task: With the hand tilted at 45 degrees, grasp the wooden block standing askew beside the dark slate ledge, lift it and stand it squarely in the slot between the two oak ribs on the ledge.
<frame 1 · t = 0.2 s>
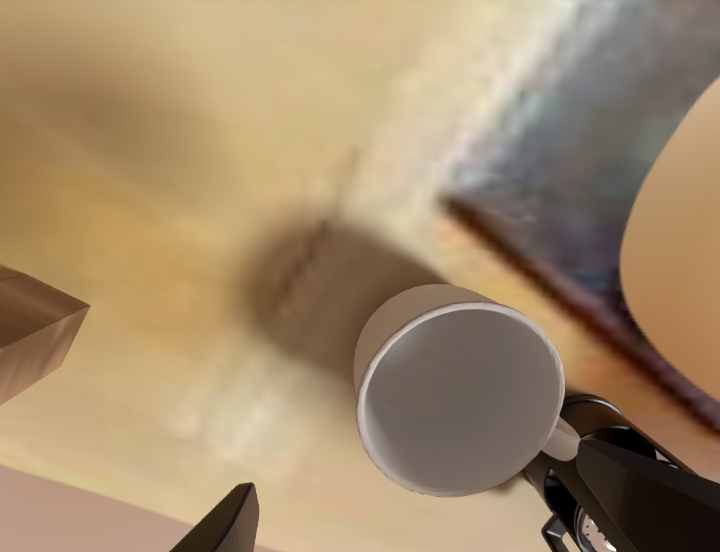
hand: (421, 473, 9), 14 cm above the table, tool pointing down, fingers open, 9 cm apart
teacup: (437, 349, 24), on the table
wooden block: (43, 321, 21), on the table
french press: (565, 446, 28), on the table
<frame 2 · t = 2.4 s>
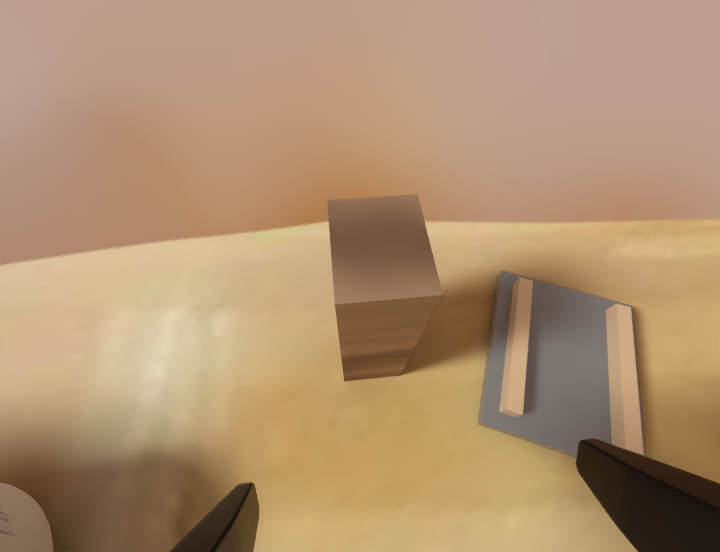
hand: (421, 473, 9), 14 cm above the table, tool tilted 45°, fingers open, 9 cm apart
ledge: (557, 362, 24), on the table
wooden block: (368, 344, 25), on the table
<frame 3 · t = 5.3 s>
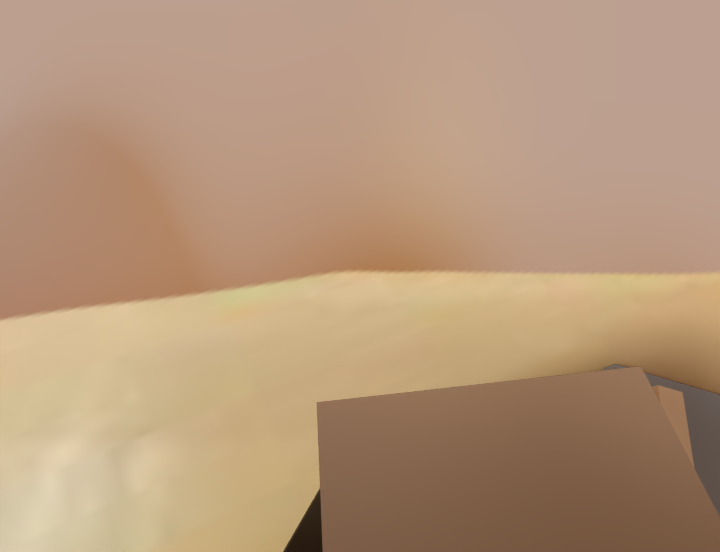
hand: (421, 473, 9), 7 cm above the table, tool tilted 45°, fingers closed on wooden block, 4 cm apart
wooden block: (400, 508, 14), on the table, touching gripper
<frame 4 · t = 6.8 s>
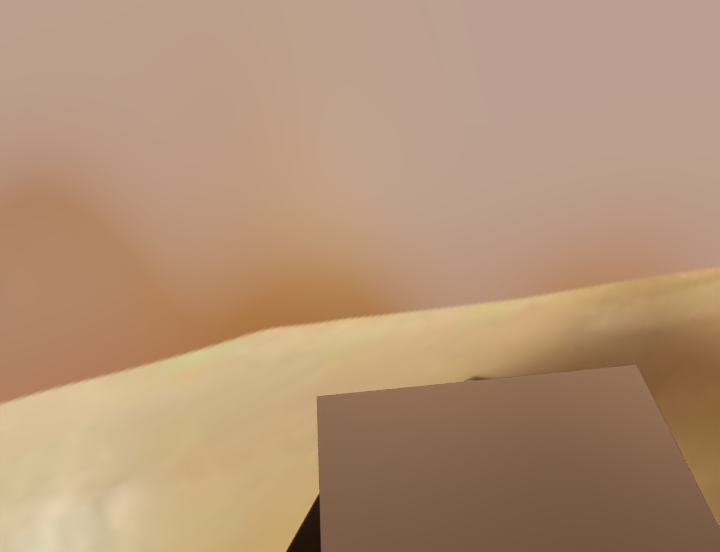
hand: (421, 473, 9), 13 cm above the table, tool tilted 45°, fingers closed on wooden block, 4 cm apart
wooden block: (403, 507, 14), point 7 cm above the table, touching gripper
when the fingers open (9 cm above the table, at t = 8.7 s): wooden block drops 1 cm, resting on ledge.
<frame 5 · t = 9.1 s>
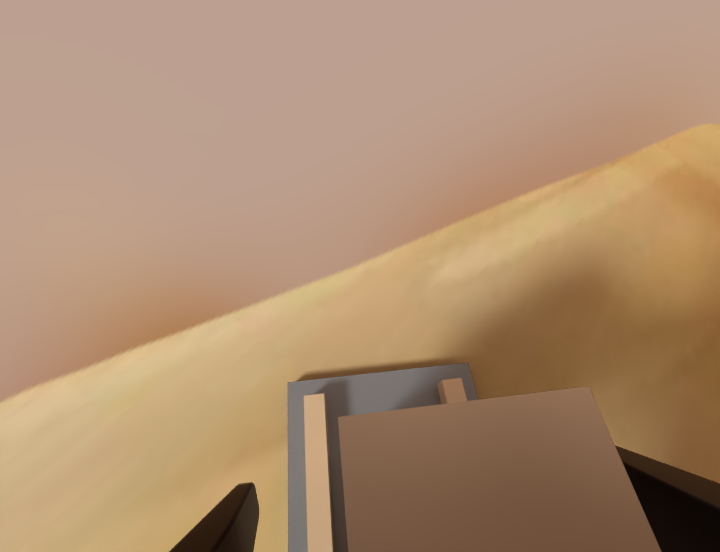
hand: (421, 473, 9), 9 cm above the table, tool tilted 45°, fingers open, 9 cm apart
ledge: (395, 501, 16), on the table
wooden block: (398, 504, 15), point 1 cm above the table, touching ledge
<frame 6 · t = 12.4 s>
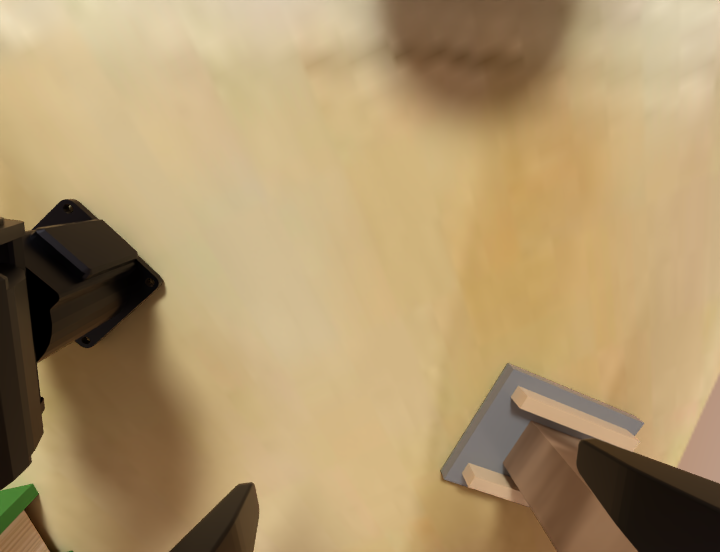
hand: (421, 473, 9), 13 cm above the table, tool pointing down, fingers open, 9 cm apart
ledge: (538, 443, 26), on the table
wooden block: (543, 451, 25), point 1 cm above the table, touching ledge
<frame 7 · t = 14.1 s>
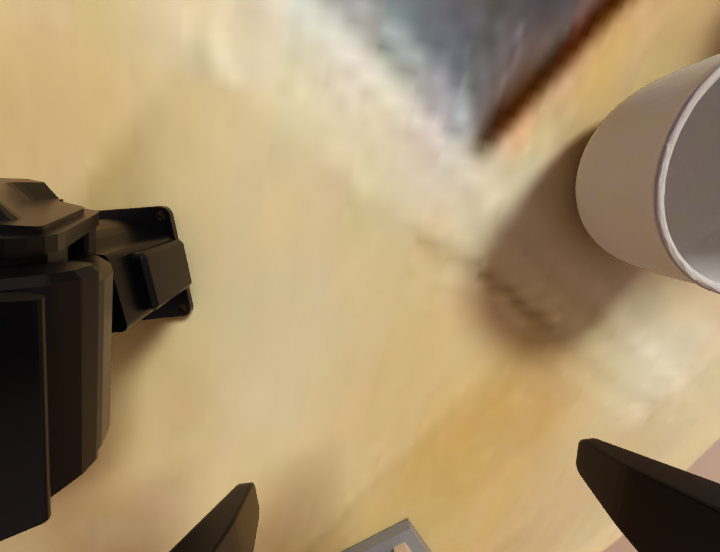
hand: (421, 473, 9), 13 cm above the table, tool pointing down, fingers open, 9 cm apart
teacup: (644, 156, 21), on the table
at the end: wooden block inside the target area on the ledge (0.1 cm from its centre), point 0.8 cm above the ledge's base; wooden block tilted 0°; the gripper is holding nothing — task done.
